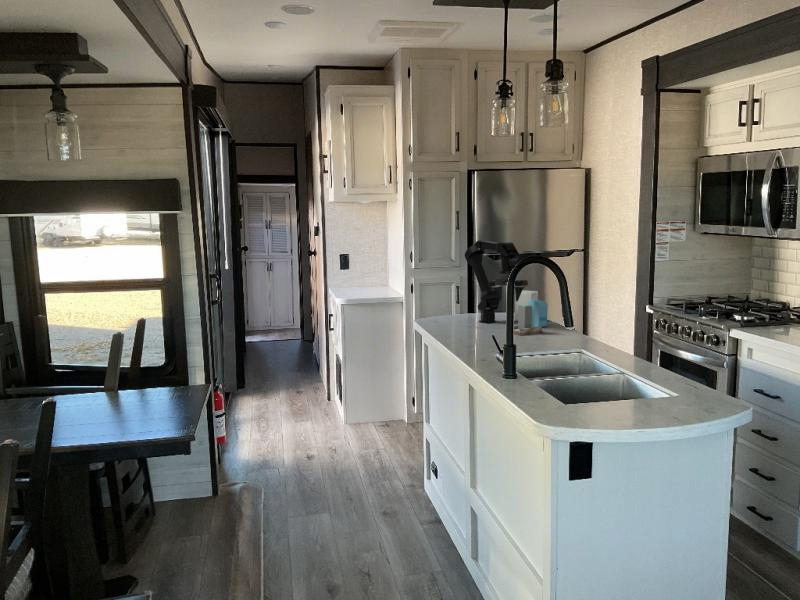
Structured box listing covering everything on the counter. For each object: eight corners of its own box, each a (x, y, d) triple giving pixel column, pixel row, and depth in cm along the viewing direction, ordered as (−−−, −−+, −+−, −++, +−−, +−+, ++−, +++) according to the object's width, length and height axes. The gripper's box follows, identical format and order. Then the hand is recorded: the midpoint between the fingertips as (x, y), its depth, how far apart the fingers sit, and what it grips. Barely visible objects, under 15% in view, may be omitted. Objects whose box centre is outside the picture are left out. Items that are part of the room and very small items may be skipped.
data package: (547, 327, 320) (547, 302, 318) (538, 327, 318) (539, 303, 317) (535, 323, 331) (536, 299, 329) (527, 323, 330) (527, 299, 328)
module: (524, 330, 304) (525, 306, 302) (517, 328, 308) (518, 304, 306) (531, 330, 305) (532, 305, 304) (524, 328, 310) (525, 303, 308)
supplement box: (530, 322, 332) (531, 292, 330) (514, 321, 337) (514, 291, 335) (537, 320, 340) (538, 290, 337) (520, 318, 344) (521, 289, 342)
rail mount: (519, 335, 300) (519, 329, 299) (506, 331, 308) (506, 325, 308) (542, 333, 306) (542, 327, 305) (529, 329, 314) (529, 323, 314)
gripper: (481, 269, 318) (482, 302, 319) (515, 268, 306) (516, 302, 307) (494, 268, 327) (495, 300, 328) (527, 267, 314) (529, 300, 315)
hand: (508, 301), depth 319 cm, fingers open, 9 cm apart
